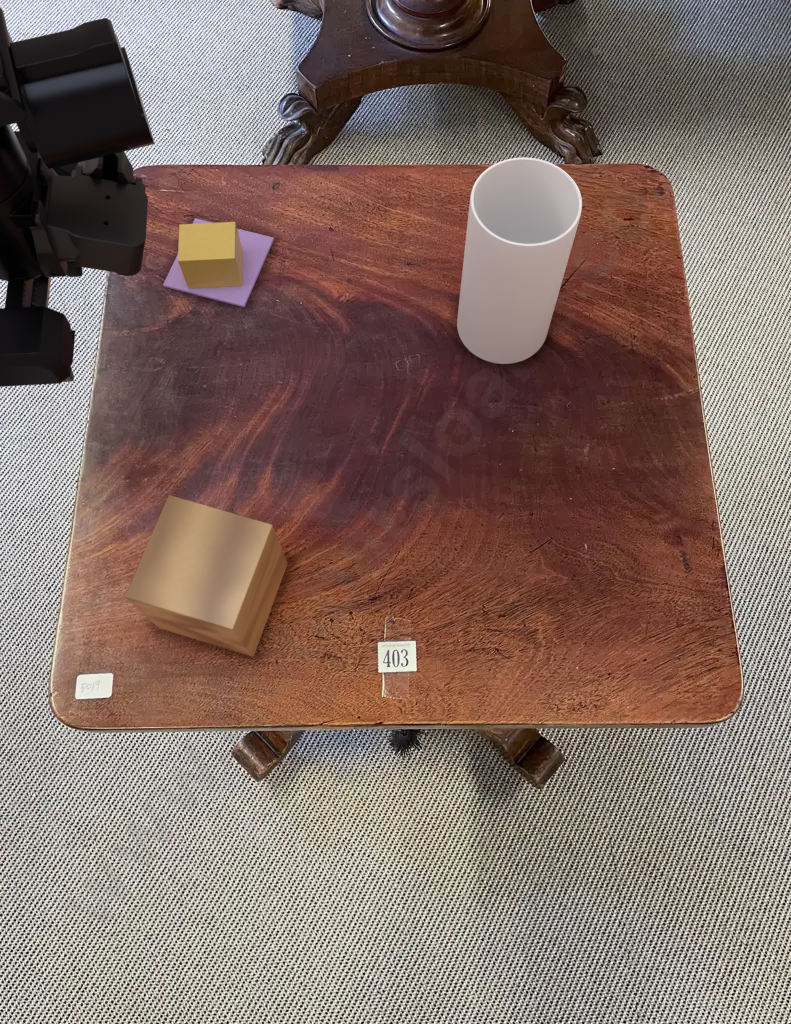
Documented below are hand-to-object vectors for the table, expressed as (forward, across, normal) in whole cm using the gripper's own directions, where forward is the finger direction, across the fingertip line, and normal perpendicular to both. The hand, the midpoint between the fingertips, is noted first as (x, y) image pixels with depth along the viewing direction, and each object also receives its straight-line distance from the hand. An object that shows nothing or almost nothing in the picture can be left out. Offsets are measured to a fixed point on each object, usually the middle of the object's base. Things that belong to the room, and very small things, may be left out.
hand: (71, 326), depth 64 cm
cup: (+12, +6, -34) cm, 37 cm away
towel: (+12, +14, -9) cm, 20 cm away
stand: (+12, -18, -9) cm, 24 cm away
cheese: (+11, +13, -8) cm, 19 cm away
